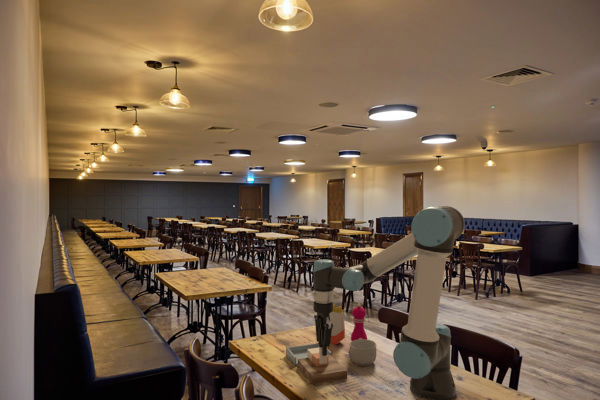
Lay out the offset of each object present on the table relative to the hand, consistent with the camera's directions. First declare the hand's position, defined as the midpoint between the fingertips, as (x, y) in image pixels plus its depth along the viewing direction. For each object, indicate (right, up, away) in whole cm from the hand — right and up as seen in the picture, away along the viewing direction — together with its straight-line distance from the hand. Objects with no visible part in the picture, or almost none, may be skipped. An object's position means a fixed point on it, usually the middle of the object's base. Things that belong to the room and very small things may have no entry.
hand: (323, 362), depth 152 cm
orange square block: (-1, -1, +3) cm, 3 cm away
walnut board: (0, -4, +2) cm, 5 cm away
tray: (-5, -4, +15) cm, 17 cm away
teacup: (+17, -5, +12) cm, 21 cm away
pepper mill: (+17, -4, +26) cm, 32 cm away
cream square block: (-3, -1, +8) cm, 8 cm away
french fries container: (+6, -4, +34) cm, 35 cm away
